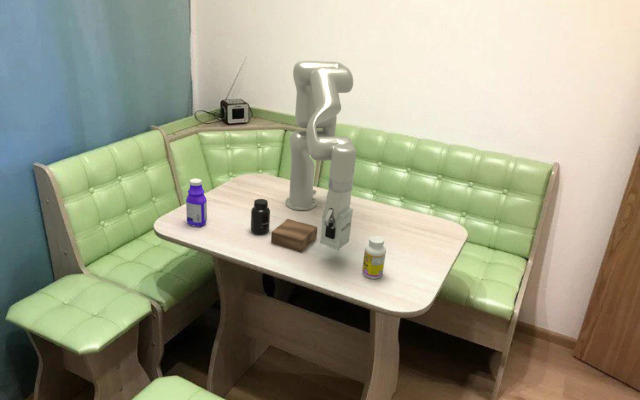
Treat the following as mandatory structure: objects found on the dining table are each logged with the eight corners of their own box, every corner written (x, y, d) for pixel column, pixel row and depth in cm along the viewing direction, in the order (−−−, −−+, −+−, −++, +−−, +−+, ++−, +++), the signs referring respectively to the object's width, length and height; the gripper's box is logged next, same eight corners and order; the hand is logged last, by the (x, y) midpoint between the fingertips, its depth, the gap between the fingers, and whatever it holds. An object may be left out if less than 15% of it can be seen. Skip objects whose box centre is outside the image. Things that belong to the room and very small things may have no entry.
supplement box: (338, 251, 158) (342, 216, 153) (319, 243, 162) (322, 209, 156) (349, 242, 164) (353, 208, 158) (330, 234, 167) (334, 201, 162)
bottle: (209, 222, 184) (208, 179, 177) (202, 228, 179) (200, 184, 172) (192, 218, 185) (190, 175, 178) (184, 225, 180) (182, 181, 173)
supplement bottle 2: (360, 268, 162) (364, 233, 156) (380, 268, 162) (385, 234, 157) (363, 279, 156) (368, 244, 150) (384, 279, 156) (389, 244, 151)
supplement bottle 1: (266, 236, 177) (267, 206, 172) (248, 233, 178) (248, 203, 173) (271, 228, 183) (272, 199, 178) (254, 225, 184) (254, 196, 179)
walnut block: (287, 230, 183) (287, 218, 181) (316, 239, 178) (317, 226, 176) (270, 244, 173) (271, 231, 171) (301, 253, 168) (302, 240, 166)
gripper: (342, 172, 162) (337, 219, 170) (316, 189, 148) (312, 240, 156) (363, 177, 159) (357, 225, 167) (338, 196, 145) (333, 247, 153)
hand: (335, 232), depth 161 cm, fingers closed on supplement box, 7 cm apart
